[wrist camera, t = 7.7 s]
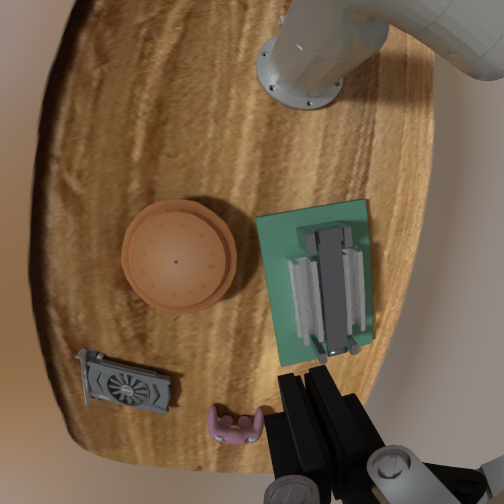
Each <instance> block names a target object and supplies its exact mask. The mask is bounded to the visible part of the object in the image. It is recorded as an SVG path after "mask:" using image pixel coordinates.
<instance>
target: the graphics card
mask: <svg viewBox="0 0 504 504" xmlns="http://www.w3.org/2000/svg"><path fill="white" fill-rule="evenodd" d="M81 349H82V348H81ZM90 351H91V352H90ZM97 352H98V351H95V350H91V349H89V350H86V349H83V350H80V351H79V353H78V354H79V355H77V356H76V358H78V359H81V370H82V379H83V387H84V394H85V401H86V404H87V406H88V404H89V399H90V401H91V398H92V396H93V397H96V398H100V399H103V400H107V401H110V402H114V403H118V404H122V405H126V406H130V407H134V408H138V409H143V410H147V411H152V412H157V413H162V414H167V413H168V412H169V407H167V405H168V403H169V401H170V399H171V391H170V386H169V384H171V381H172V379H171V378H170V377H169V376H166V375H161V374H158V373H157V372H156V371H151V370H146V369H142V368H137V367H133V366H129V365H125V364H121V363H117V362H113V361H109V360H105V359H103V357H104V355H103V354H102V353H99V354H98V356H97ZM81 353H83V354H81ZM90 353H91V354H90ZM96 358H97V359H96ZM88 365H89V366H90V368H89V366H88ZM83 374H84V376H85V375H86V378H85V379H84V376H83ZM109 379H110V380H109ZM84 383H85V385H84ZM85 386H86V387H85ZM86 389H87V390H86ZM85 391H86V392H85ZM159 394H160V396H159ZM158 396H159V397H158ZM124 398H126V399H124ZM156 399H157V400H156ZM132 400H135V401H132Z"/></svg>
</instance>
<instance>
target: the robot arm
mask: <svg viewBox="0 0 504 504" xmlns="http://www.w3.org/2000/svg"><path fill="white" fill-rule="evenodd" d="M279 19H280V23H281V25H282V26H281V29H280V31H279V34H278V35H276V36H274V37H273V38H271V39H269V40H268V41H267V42H266V43H265V44H264V45H263V47H262V48H261V50H260V52H259V54H258V57H257V61H256V72H257V77H258V80H259V82H260V84H261V86H262V87H263V89H264V90H265V92H266V93H267V94H268V95H269V96H270V97H271V98H273V99H274V100H276V101H277V102H278V103H280V104H282V105H284V106H286V107H290V108H293V109H299V110H312V109H317V108H320V107H322V106H324V105H326V104H328V103H329V102H331V101H332V100H333V99H334V98H335V97H336V96H337V95H338V93H339V92H340V90H341V88H342V85H343V79H344V76H346V75H347V74H348V73H349V72H351V71H352V70H353V69H355V68H356V67H357V66H359V65H360V64H361V63H363V62H364V61H365V60H366V59H368V58H369V57H371V56H372V55H373V54H374V53H376V52H377V51H378V50H379V49H380V48H381V47H382V46H383V44H384V43H385V41H386V39H387V36H388V32H389V25H390V24H391V25H393V26H394V27H396V28H398V29H400V30H401V31H403V32H405V33H408V34H409V35H411V36H412V37H414V38H416V39H417V40H419V41H420V42H422V43H423V44H425V45H426V46H428V47H429V48H430V49H432V50H433V51H435V52H436V53H438V54H439V55H440V56H442V57H443V58H444V59H446V60H447V61H448V62H450V63H451V64H452V65H454V66H455V67H456V68H458V69H459V70H460V71H462V72H463V73H465V74H467V75H468V76H470V77H472V78H475V79H478V80H482V81H493V80H498V79H501V78H503V77H504V0H292V2H291V5H290V7H289V10H288V12H287V14H286V15H283V16H280V17H279ZM263 55H265V56H263ZM335 84H336V85H337V86H336V85H335ZM270 88H272V89H273V91H271V90H270ZM307 103H309V104H310V106H308V105H307ZM304 379H305V387H306V389H305V387H304V384H303V382H302V379H301V376H300V375H298V376H294V374H293V373H289V374H284V375H280V376H278V382H279V388H280V393H281V399H282V404H283V410H284V412H280V413H275V414H270V415H265V416H264V422H265V427H266V433H267V438H268V444H269V449H270V454H271V460H272V465H273V470H274V475H275V481H274V482H272V483H271V484H270V485H269V486H268V488H267V489H266V491H265V494H264V504H330V502H331V489H332V492H333V495H334V498H335V500H339V499H341V500H342V503H343V504H504V455H503V456H500V457H498V458H496V459H494V460H492V461H490V462H488V463H485V464H483V465H481V466H480V468H478V469H476V470H473V469H466V468H458V467H450V466H443V465H436V464H430V463H424V462H421V461H420V459H419V458H418V457H417V456H416V455H415V454H414V453H413V452H412V451H411V450H409V449H408V448H406V447H403V446H400V445H389V446H385V444H384V442H383V441H382V439H381V437H380V435H379V434H378V432H377V430H376V429H375V427H374V425H373V424H372V421H371V420H370V418H369V416H368V415H367V413H366V411H365V409H364V408H363V406H362V404H361V403H360V401H359V399H358V397H357V396H356V395H355V394H354V393H352V394H349V395H345V396H341V394H340V392H339V390H338V388H337V386H336V384H335V383H334V381H333V379H332V377H331V375H330V373H329V371H328V369H327V367H326V366H325V365H321V366H318V367H314V368H310V369H309V373H306V374H304Z"/></svg>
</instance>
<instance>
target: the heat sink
mask: <svg viewBox="0 0 504 504" xmlns="http://www.w3.org/2000/svg"><path fill="white" fill-rule="evenodd" d="M337 225H338V226H340V227H342V230H343V239H344V240H343V241H341V247H342V258H343V270H344V283H345V298H346V317H347V346H348V350H349V352H350V353H351V355H354V354H358V344H357V342H356V341H355V340H354V338H353V337H352V336H351V335H350V334H352V325H353V324H355V325H356V326H357V327H358V328H359V329H360V331H364V330H365V291H364V271H363V256H362V251H361V250H359V249H357V246H355V245H353V243H352V233H351V227H350V226H348V225H345V224H343V223H340V222H338V221H329V222H324V223H318V224H313V225H307V226H302V227H296V233H297V240H298V245H299V246H300V247H301V248H302V249H303V250H304V251H305V252H306V253H302V254H297V255H292V256H287V257H285V261H286V268H287V275H288V282H289V288H290V295H291V303H292V310H293V317H294V325H295V332H296V334H297V336H298V338H301V339H302V341H303V344H304V346H308V345H309V336H310V344H311V346H312V348H313V350H314V352H315V354H316V356H317V358H318V360H319V362H320V364H322V363H326V362H327V353H326V351H325V349H324V348H323V346H322V344H321V342H324V333H323V332H325V319H324V307H323V296H322V286H321V276H320V267H319V258H318V250H317V241H316V233H315V229H321V228H326V227H332V226H337Z"/></svg>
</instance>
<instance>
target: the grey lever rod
mask: <svg viewBox="0 0 504 504" xmlns="http://www.w3.org/2000/svg"><path fill="white" fill-rule="evenodd" d="M315 233H316V241H317V250H318V258H319V267H320V276H321V286H322V296H323V307H324V319H325V332H326V346H327V354H328V357H331V356H335V355H339V354H342V353H346V352H348V346H347V317H346V298H345V283H344V270H343V258H342V247H341V241H343V240H344V239H343V230H342V227H340V226H338V225H337V226H332V227H326V228H321V229H315Z"/></svg>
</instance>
